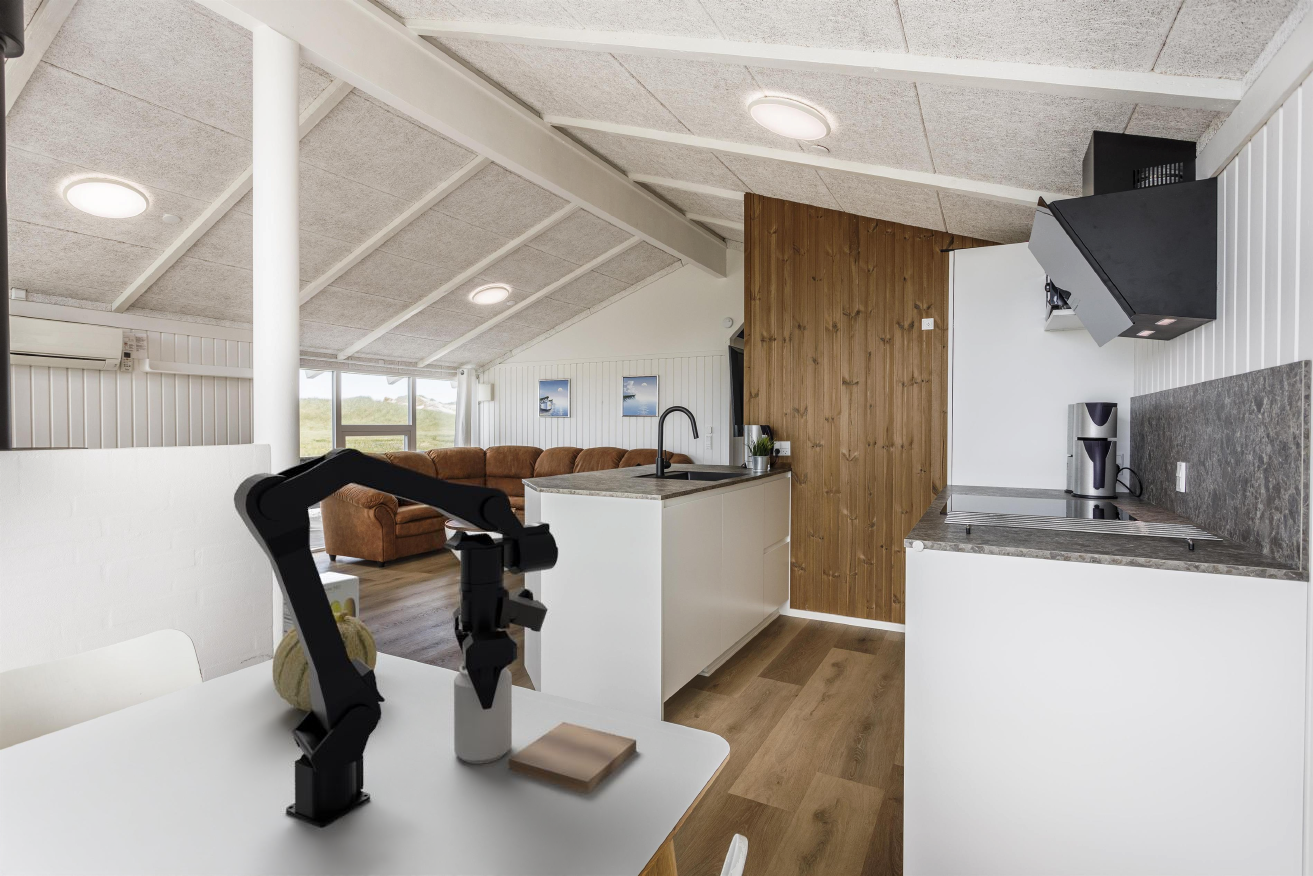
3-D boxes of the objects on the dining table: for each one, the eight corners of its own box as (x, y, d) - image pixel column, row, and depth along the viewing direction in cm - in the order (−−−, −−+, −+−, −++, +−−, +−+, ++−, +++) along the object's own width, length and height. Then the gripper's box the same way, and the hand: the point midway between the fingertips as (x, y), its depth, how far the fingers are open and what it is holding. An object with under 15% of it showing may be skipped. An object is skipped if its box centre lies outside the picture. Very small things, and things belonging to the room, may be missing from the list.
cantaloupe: (277, 697, 107) (276, 605, 107) (375, 683, 113) (375, 596, 113) (266, 736, 94) (266, 631, 93) (378, 717, 100) (378, 618, 100)
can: (504, 767, 85) (503, 674, 85) (446, 766, 85) (445, 674, 85) (517, 740, 92) (517, 655, 92) (464, 739, 93) (464, 654, 92)
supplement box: (310, 684, 113) (309, 586, 112) (280, 674, 117) (279, 580, 117) (361, 667, 121) (360, 575, 121) (330, 658, 126) (330, 570, 125)
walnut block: (587, 798, 79) (587, 781, 79) (508, 774, 84) (508, 758, 84) (636, 754, 89) (636, 740, 89) (563, 735, 95) (563, 722, 95)
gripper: (557, 590, 83) (557, 713, 83) (528, 562, 100) (528, 664, 100) (466, 598, 79) (466, 728, 79) (452, 568, 96) (452, 674, 96)
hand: (482, 695), depth 89 cm, fingers open, 9 cm apart
